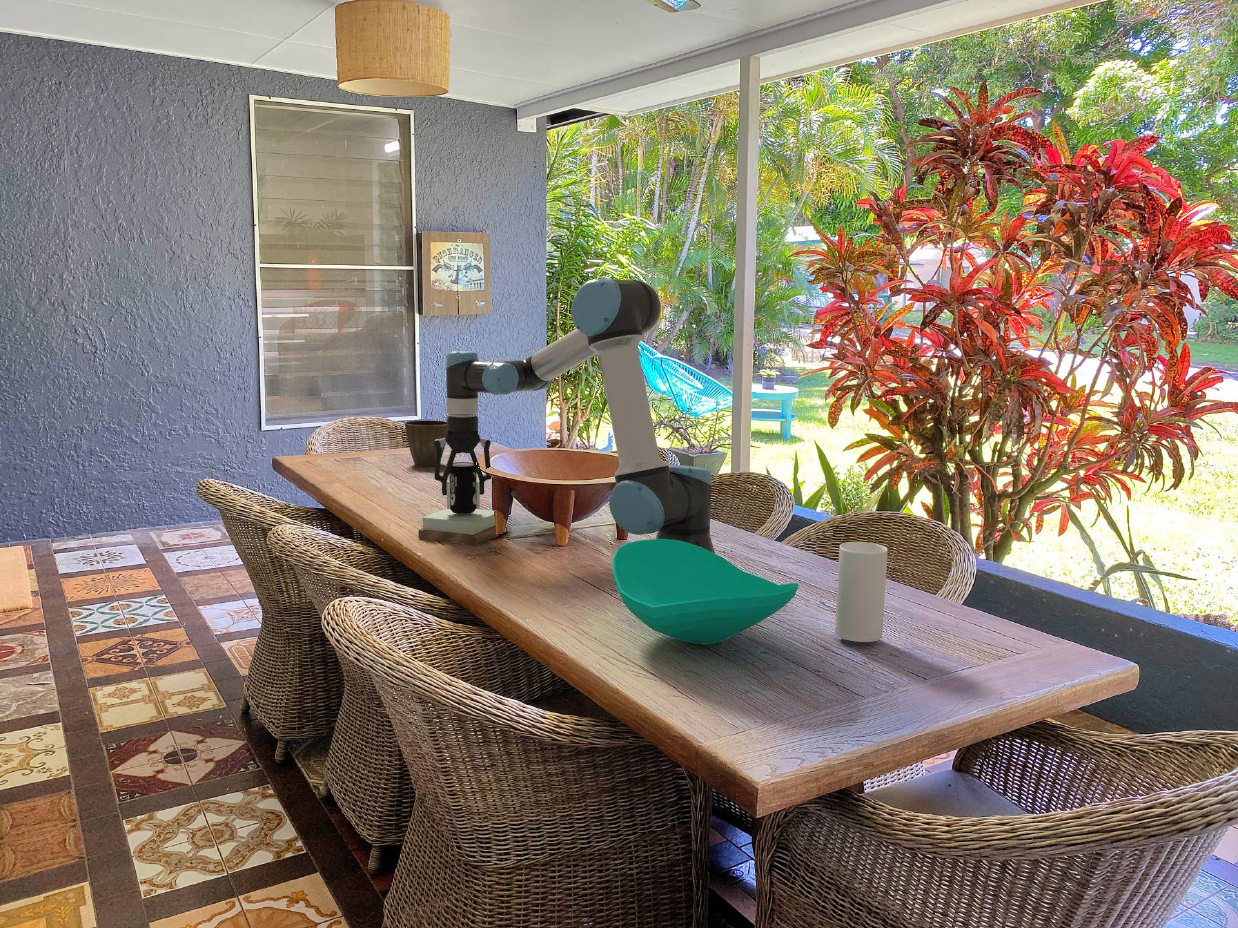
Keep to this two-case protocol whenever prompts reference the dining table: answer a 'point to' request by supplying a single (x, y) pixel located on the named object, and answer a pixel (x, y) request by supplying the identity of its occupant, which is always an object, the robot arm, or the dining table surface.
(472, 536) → the tower base
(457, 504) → the beverage can
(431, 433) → the plant pot
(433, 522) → the tower top
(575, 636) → the dining table surface
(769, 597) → the table top decor
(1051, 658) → the dining table surface
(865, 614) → the cup
